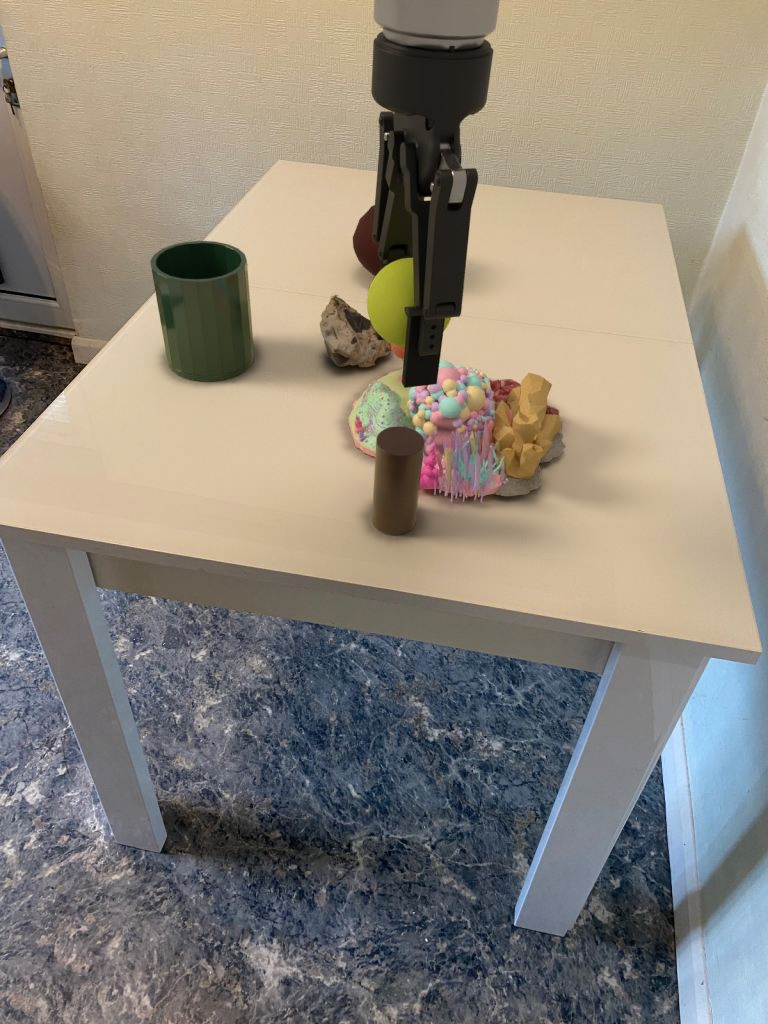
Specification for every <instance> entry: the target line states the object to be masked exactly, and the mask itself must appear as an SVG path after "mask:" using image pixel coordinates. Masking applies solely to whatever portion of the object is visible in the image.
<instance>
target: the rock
mask: <svg viewBox="0 0 768 1024" xmlns="http://www.w3.org/2000/svg"><path fill="white" fill-rule="evenodd" d="M320 315H321V320H320V322H319V328H320V333H321V336H322V339H323V343H324V346H325V349H326V352H327V355H328V358H329V359H330V361H331V362H332V363H334V364H335V366H337V368H338V367H339V368H342V367H345V366H349V365H350V366H357V365H358V367H359V368H370V367H372V366H375V365H376V364H375V362H376V360H378V358H383V357H387V356H388V355H389V354H390V352H392V348H391V343H389V342H388V341H386V340H378V339H377V337H376V330H375V329H374V327H373V325H372V323H371V321H370V318H367V317H365V316H364V315H362V314H361V313H359V312H358V311H357V310H356V309H355V308H354V307H352V306H350V305H349V304H348V303H347V302H346V301H345V300H343V298H340V297H339V295H338V294H335V295H331V296H330V299H329V301H328V304H326V305H325V309H324V310H323V311H322V312H321V314H320Z"/></svg>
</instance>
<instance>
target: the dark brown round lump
mask: <svg viewBox="0 0 768 1024" xmlns="http://www.w3.org/2000/svg"><path fill="white" fill-rule="evenodd" d="M374 208H375V204H374V205H371V206H370V207H369V209H368V210H367V211H365V213H364V214H363V215H362V216H361V217H360V218H359V219H358V222H357V225H356V227H355V230H354V233H353V235H352V249H353V251H354V254H355V256H356V258H357V260H358V262H359V263H360V264H361V265H362V267H363V268H364V269H365V270H366V271H367V272H369V273H370V274H371V275H372V276H374V277H375V276H376V275H377V274H378V273H379V272H380V264H383V261H381V260H380V259H379V256H378V248H379V243H374V241H373V239H372V233H373V221H374Z"/></svg>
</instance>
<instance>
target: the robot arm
mask: <svg viewBox="0 0 768 1024" xmlns="http://www.w3.org/2000/svg"><path fill="white" fill-rule="evenodd" d="M500 2H501V1H500V0H373V20H374V22H376V24H377V25H378V26H379V27H380V28H381V29H382V31H380V32H379V33H378V34H377V35H376V37H375V38H374V39H373V42H372V43H373V45H372V67H371V87H370V88H371V90H370V91H371V97H372V99H373V100H374V101H375V103H376V104H377V105H378V106H380V107H382V108H383V109H385V110H387V111H380V113H379V116H378V129H379V130H378V131H379V132H378V133H379V136H378V137H379V149H378V161H377V173H376V185H375V197H374V205H375V208H374V221H373V233H372V239H373V241H374V243H379V248H378V256H379V259H380V260H381V261H383V264H380V271H381V270H382V269H383V268H384V267H385V266H387V265H388V264H390V263H392V262H394V261H396V260H399V259H404V258H413V279H414V306H410V307H404V310H405V314H406V316H407V317H408V318H407V329H406V340H405V351H404V362H403V365H402V368H403V374H402V384H403V386H404V388H408V387H416V386H425V385H434V384H437V378H438V370H439V363H440V362H441V355H442V346H443V340H444V339H443V338H444V332H443V331H445V330H444V323H445V318H451V319H452V318H459V317H461V314H462V308H463V300H464V299H463V298H464V287H465V277H466V267H467V258H468V247H469V238H470V227H471V226H470V225H471V215H472V207H473V204H474V199H475V195H476V192H477V188H478V183H479V173H478V170H477V168H476V167H472V168H471V167H470V168H464V167H462V166H463V165H462V144H461V127H460V126H461V123H462V122H463V121H464V120H465V119H466V118H467V117H469V116H473V115H476V114H478V113H479V112H481V111H482V110H483V109H484V108H485V106H486V104H487V101H488V93H489V86H490V79H491V73H492V72H491V71H492V66H493V57H494V49H493V47H492V44H491V43H490V42H489V41H488V40H487V39H485V38H486V37H488V36H490V35H491V34H492V33H493V32H495V30H496V28H497V23H498V17H499V15H498V14H499V9H500ZM426 198H430V200H429V199H428V200H425V199H426ZM376 337H377V339H378V340H385V339H383V338H382V337H381V336H380V335H379V334H378V333H377V331H376Z"/></svg>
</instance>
